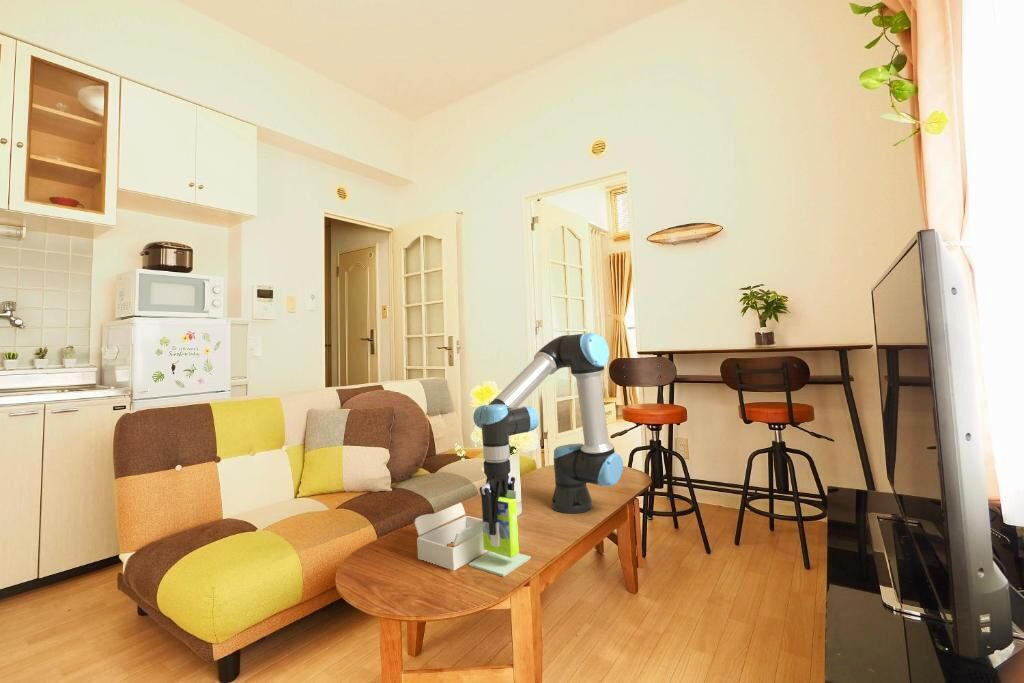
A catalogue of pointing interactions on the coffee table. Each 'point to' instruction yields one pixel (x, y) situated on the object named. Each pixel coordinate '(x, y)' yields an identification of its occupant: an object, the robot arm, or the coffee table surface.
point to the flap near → (468, 532)
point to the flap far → (439, 518)
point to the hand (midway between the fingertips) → (500, 542)
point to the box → (504, 527)
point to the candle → (422, 518)
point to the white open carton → (436, 541)
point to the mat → (499, 563)
